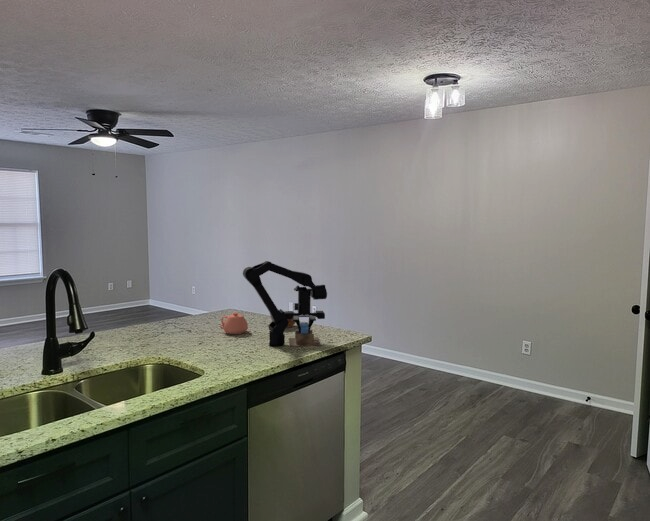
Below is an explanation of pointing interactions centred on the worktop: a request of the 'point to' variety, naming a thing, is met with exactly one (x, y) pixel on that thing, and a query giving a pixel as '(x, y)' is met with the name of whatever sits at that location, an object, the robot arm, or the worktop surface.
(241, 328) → the sugar bowl
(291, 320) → the tin
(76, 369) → the worktop surface
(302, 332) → the block
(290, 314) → the robot arm
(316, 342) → the cradle
